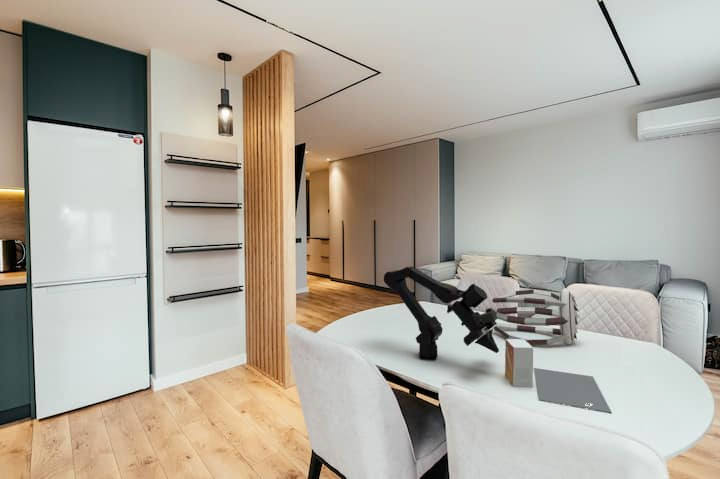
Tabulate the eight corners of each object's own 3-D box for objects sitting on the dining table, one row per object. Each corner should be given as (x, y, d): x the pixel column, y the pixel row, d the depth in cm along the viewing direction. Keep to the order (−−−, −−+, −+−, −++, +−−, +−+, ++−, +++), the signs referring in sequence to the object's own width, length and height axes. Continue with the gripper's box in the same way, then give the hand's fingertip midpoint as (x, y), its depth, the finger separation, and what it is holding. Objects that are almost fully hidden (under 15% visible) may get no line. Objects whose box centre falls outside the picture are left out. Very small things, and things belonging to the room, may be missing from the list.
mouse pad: (538, 400, 103) (538, 399, 103) (533, 368, 125) (533, 367, 125) (611, 413, 96) (611, 412, 96) (592, 377, 118) (592, 376, 118)
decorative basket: (578, 355, 135) (486, 343, 156) (583, 337, 157) (502, 329, 178) (574, 293, 135) (483, 289, 156) (580, 284, 157) (499, 282, 178)
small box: (504, 375, 120) (505, 338, 119) (523, 376, 119) (524, 338, 119) (512, 386, 112) (513, 347, 111) (533, 387, 111) (534, 347, 110)
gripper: (472, 307, 114) (507, 347, 108) (491, 297, 129) (522, 332, 123) (450, 326, 120) (482, 365, 113) (470, 314, 134) (499, 349, 128)
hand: (497, 352), depth 119 cm, fingers closed
